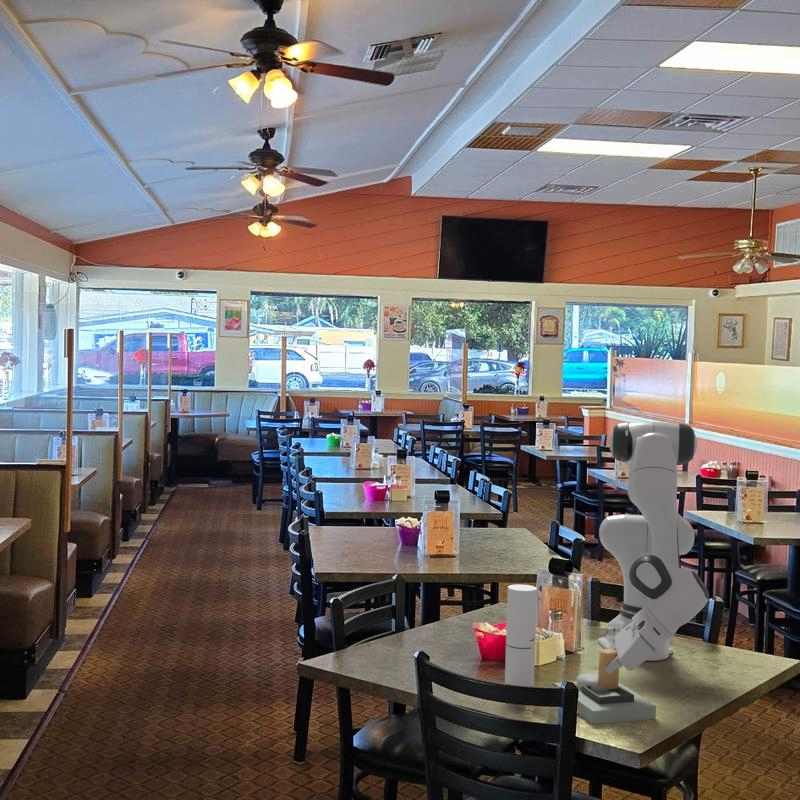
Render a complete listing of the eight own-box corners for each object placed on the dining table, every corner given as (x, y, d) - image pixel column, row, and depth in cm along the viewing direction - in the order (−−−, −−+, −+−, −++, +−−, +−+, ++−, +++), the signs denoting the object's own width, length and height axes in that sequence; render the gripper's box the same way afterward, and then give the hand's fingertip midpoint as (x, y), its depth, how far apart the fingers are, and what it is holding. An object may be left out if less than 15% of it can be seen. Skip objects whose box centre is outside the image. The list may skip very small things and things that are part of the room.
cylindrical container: (539, 687, 245) (542, 587, 244) (522, 694, 240) (526, 592, 239) (515, 681, 250) (518, 583, 249) (498, 687, 245) (502, 587, 244)
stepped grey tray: (553, 695, 240) (554, 674, 240) (612, 690, 244) (613, 670, 244) (592, 724, 221) (593, 702, 221) (655, 718, 225) (656, 697, 225)
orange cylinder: (594, 683, 232) (595, 649, 232) (612, 682, 233) (613, 648, 233) (604, 689, 228) (605, 655, 227) (621, 688, 229) (623, 654, 229)
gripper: (636, 607, 239) (594, 644, 241) (644, 629, 219) (598, 669, 221) (655, 627, 239) (612, 664, 240) (664, 650, 218) (618, 691, 220)
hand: (605, 667), depth 230 cm, fingers closed on orange cylinder, 5 cm apart
